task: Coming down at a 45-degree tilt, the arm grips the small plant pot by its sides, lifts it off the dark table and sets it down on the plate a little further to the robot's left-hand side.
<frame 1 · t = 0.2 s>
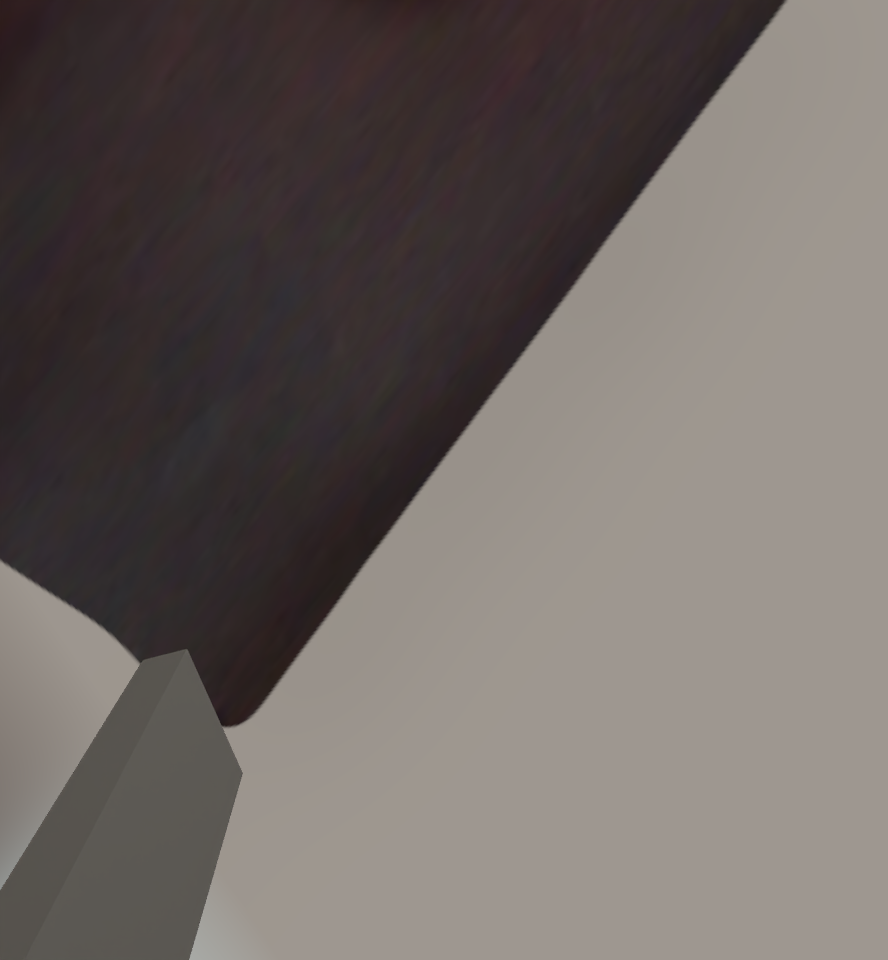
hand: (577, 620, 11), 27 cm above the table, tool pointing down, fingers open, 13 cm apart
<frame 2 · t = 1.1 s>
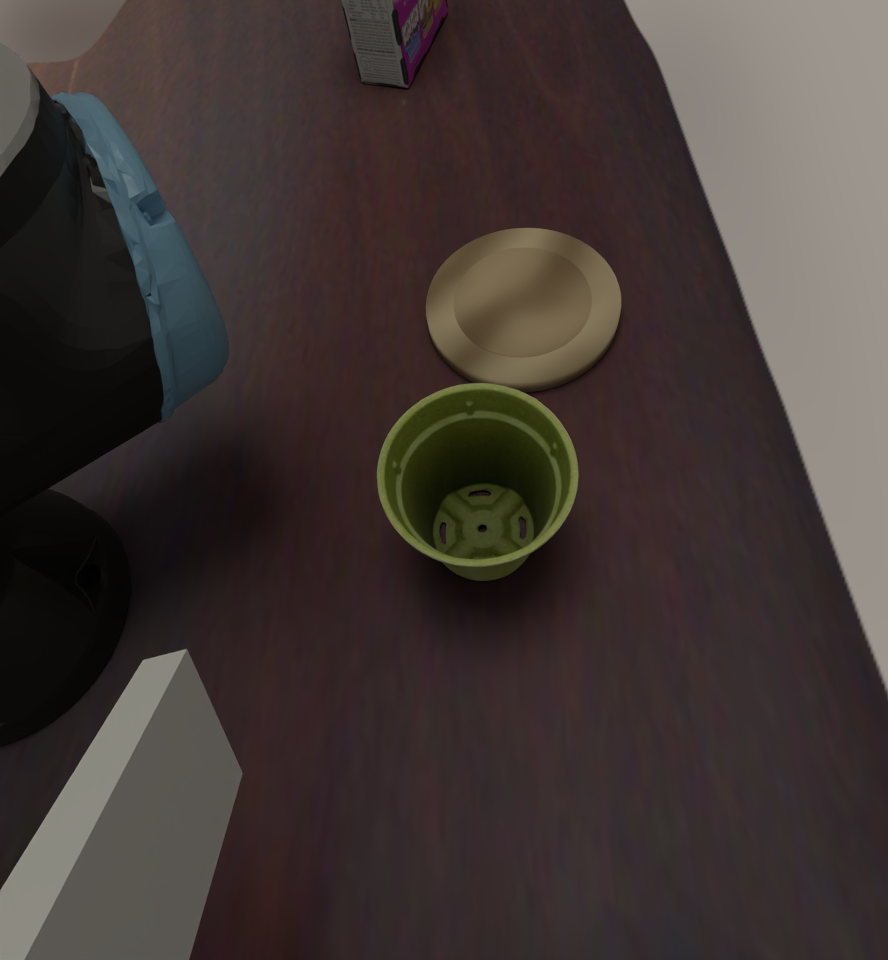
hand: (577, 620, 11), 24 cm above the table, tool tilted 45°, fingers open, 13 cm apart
plant pot: (484, 532, 38), on the table
plate: (521, 312, 44), on the table
candy bar box: (404, 50, 57), on the table
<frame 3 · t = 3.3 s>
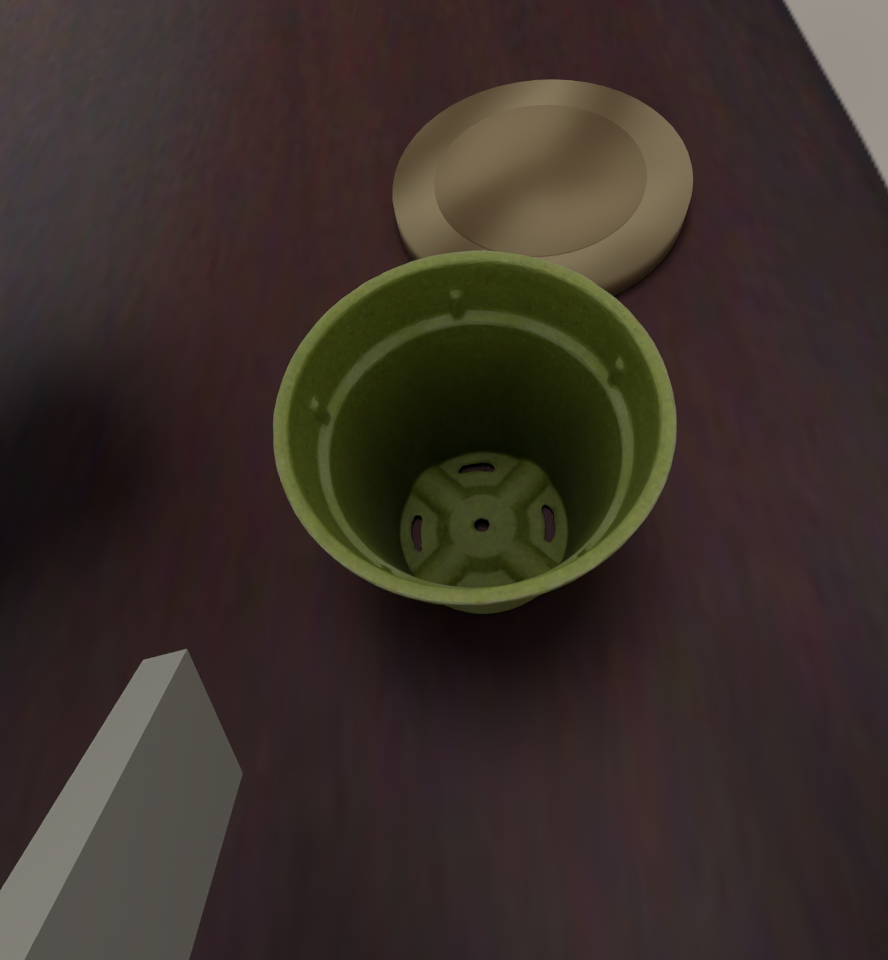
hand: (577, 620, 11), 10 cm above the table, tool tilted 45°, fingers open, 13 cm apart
plant pot: (485, 531, 23), on the table
plate: (537, 198, 29), on the table
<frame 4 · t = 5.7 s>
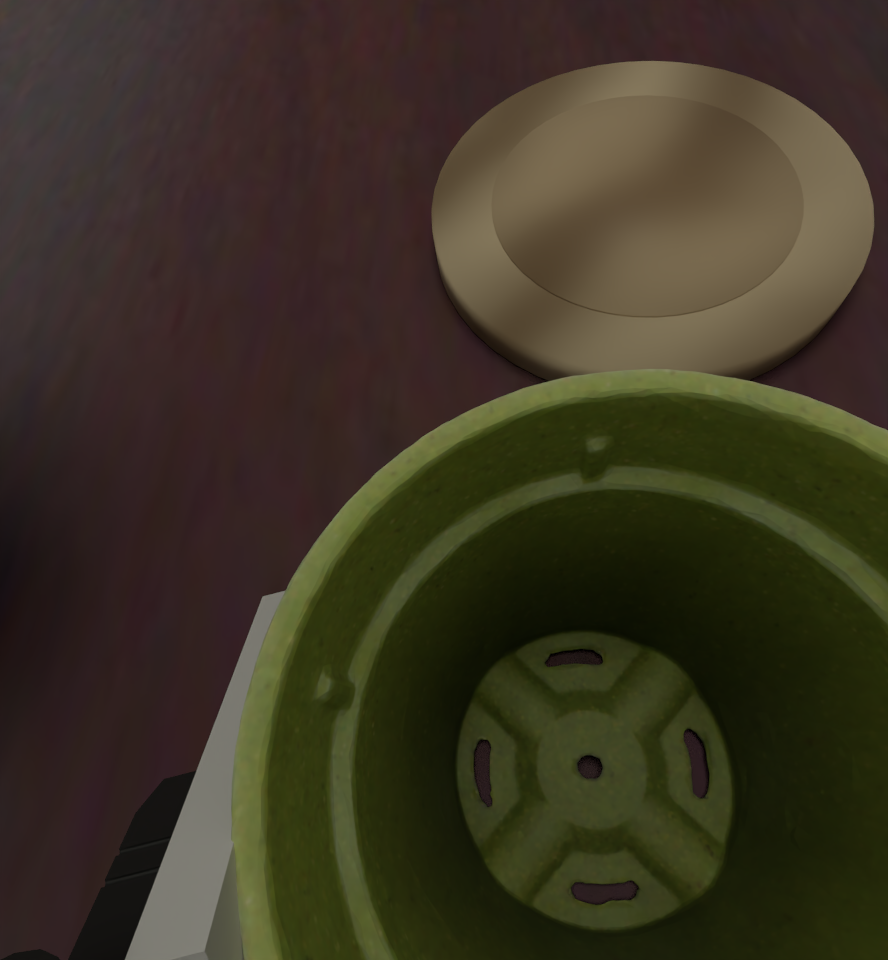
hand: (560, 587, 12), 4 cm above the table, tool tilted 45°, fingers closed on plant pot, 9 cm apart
plant pot: (591, 767, 14), on the table, touching gripper
plate: (635, 227, 21), on the table
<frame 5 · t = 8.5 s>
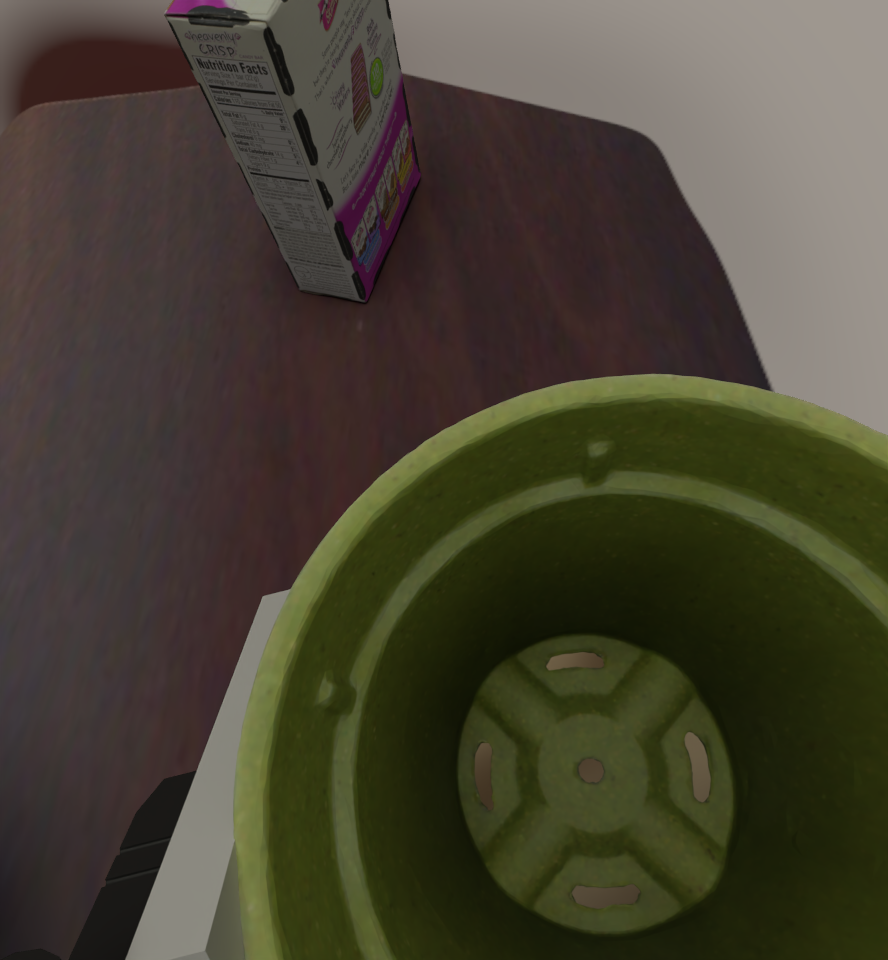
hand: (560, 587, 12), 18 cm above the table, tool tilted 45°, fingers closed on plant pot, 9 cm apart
plant pot: (592, 770, 14), point 14 cm above the table, touching gripper
plate: (546, 741, 27), on the table
candy bar box: (361, 236, 41), on the table
when the fingers open (6 cm above the table, at t = 11.2 s): plant pot drops 1 cm, resting on plate.
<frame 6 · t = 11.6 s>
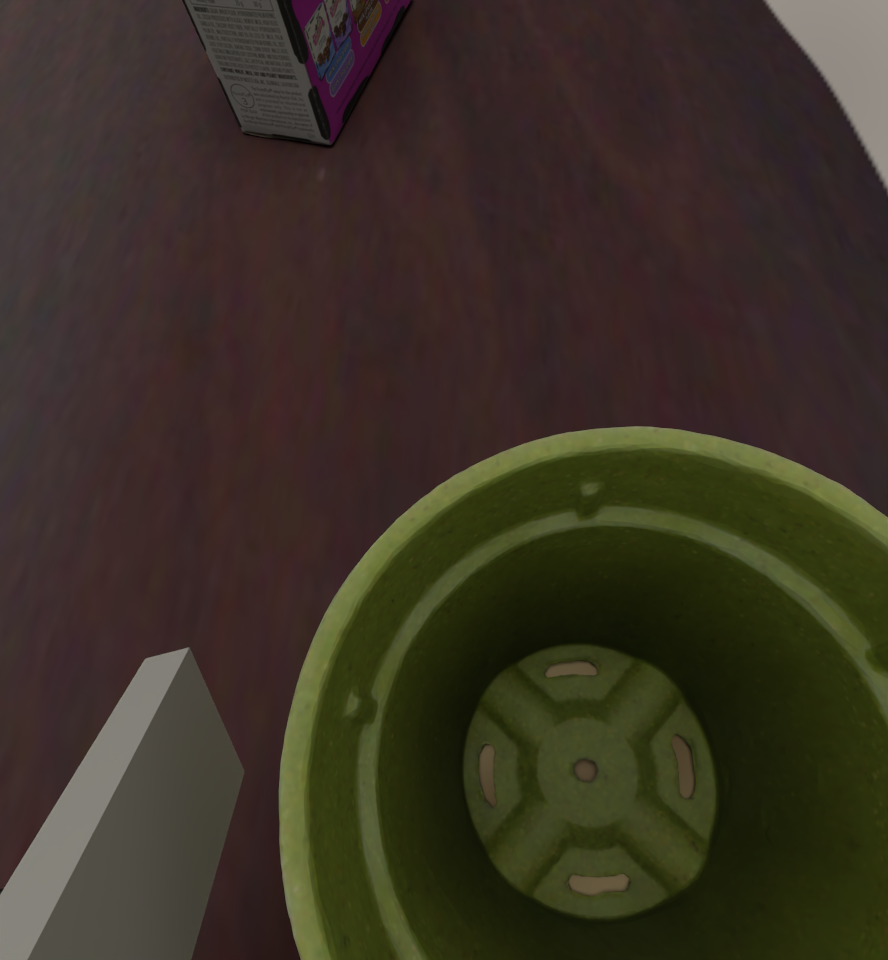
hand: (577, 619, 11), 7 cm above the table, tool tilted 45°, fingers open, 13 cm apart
plant pot: (587, 769, 16), point 1 cm above the table, touching plate
plate: (582, 767, 17), on the table
candy bar box: (330, 69, 30), on the table
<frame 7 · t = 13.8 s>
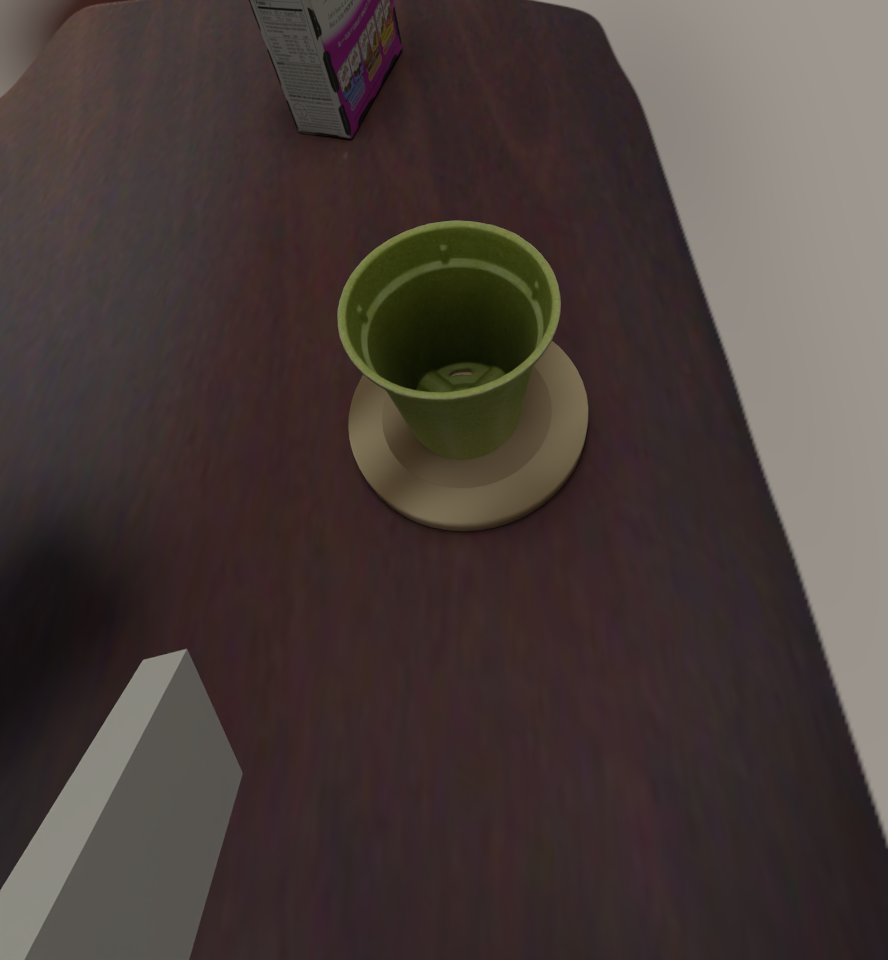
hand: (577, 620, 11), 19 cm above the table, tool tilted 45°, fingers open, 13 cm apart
plant pot: (466, 413, 34), point 1 cm above the table, touching plate
plate: (467, 422, 35), on the table
candy bar box: (350, 93, 50), on the table
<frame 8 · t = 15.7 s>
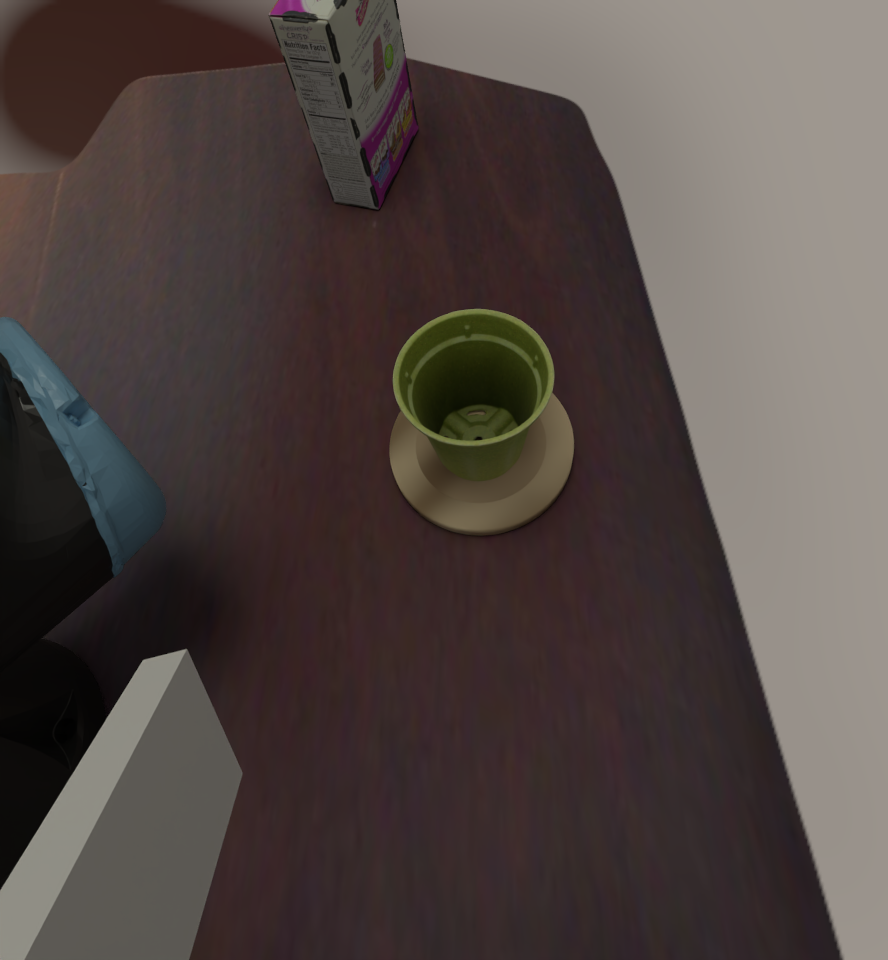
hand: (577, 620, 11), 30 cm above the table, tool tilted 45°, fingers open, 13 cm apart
plant pot: (480, 444, 45), point 1 cm above the table, touching plate
plate: (481, 450, 46), on the table
candy bar box: (376, 168, 60), on the table
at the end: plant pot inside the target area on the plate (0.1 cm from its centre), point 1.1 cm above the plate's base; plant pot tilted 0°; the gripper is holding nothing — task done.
